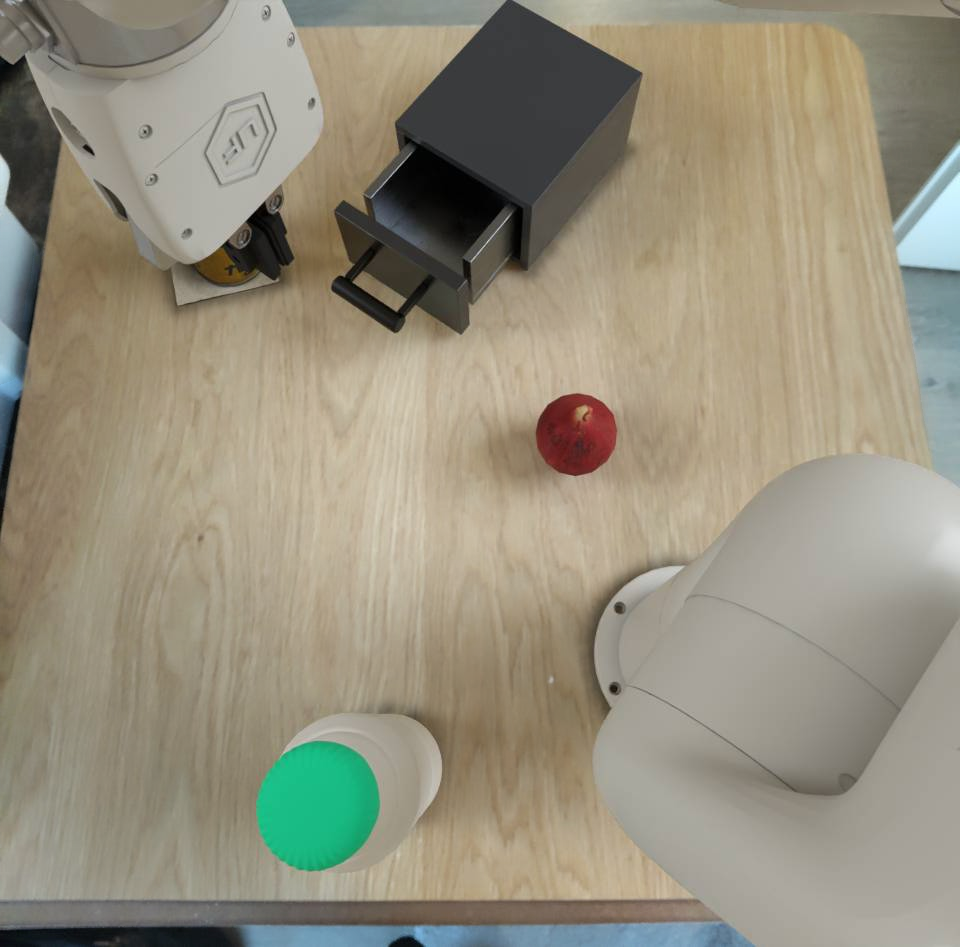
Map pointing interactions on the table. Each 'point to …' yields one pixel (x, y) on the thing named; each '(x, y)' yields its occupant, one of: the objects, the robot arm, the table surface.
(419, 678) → the table surface
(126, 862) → the table surface
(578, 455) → the onion
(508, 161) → the cabinet
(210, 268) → the condiment
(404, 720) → the water bottle
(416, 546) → the table surface
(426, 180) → the drawer
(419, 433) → the table surface
